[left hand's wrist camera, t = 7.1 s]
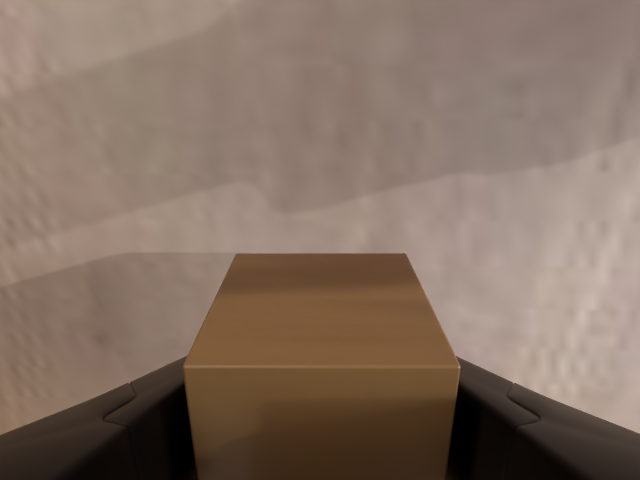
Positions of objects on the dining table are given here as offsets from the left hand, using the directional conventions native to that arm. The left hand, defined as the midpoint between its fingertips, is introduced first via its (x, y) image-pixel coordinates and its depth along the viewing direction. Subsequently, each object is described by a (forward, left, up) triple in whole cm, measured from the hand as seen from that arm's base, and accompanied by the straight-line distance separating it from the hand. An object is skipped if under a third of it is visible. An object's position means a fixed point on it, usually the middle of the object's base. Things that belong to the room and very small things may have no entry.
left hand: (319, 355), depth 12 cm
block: (0, 0, -1) cm, 1 cm away
